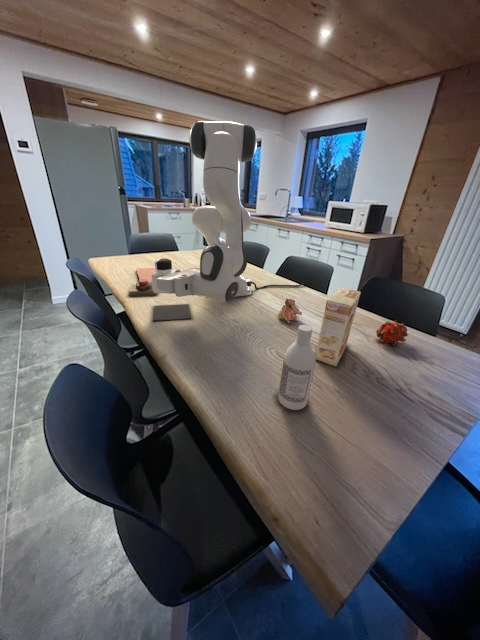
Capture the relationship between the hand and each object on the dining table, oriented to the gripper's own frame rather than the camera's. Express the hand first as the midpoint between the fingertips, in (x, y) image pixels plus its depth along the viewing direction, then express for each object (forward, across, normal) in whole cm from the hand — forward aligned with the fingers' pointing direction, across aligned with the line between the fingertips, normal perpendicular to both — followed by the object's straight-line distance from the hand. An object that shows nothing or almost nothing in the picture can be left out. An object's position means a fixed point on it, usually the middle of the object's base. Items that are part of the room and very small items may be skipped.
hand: (167, 274), depth 99 cm
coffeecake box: (-61, -11, +16) cm, 64 cm away
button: (+27, -9, +12) cm, 31 cm away
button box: (+27, -9, +16) cm, 33 cm away
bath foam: (-60, +17, +16) cm, 64 cm away
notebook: (+41, -28, +16) cm, 52 cm away
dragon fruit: (-76, -30, +16) cm, 83 cm away
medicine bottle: (+1, +1, +7) cm, 7 cm away
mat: (0, -1, +16) cm, 16 cm away
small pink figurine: (-41, -26, +16) cm, 51 cm away
